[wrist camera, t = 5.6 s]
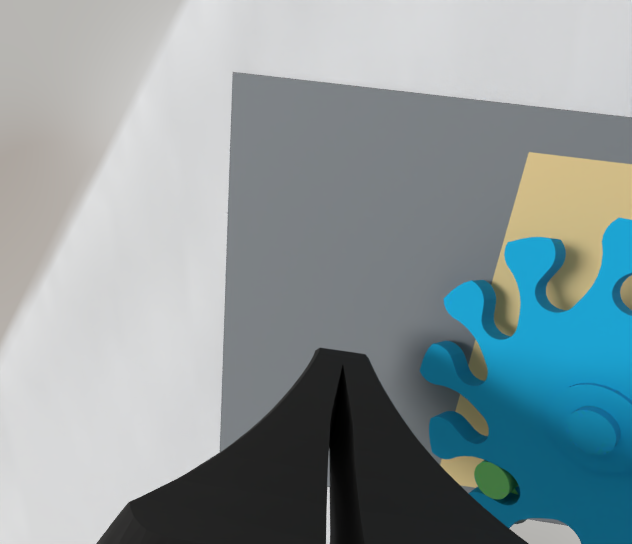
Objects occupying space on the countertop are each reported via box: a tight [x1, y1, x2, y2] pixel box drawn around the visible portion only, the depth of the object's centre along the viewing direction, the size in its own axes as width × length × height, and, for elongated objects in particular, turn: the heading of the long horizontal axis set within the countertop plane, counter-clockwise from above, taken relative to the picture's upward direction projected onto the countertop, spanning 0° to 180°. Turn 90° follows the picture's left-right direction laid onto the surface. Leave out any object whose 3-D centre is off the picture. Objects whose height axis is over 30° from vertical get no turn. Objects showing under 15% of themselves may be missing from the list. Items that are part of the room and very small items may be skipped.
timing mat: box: [220, 72, 632, 526], centre depth 14 cm, size 18×15×1 cm
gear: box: [420, 218, 632, 544], centre depth 12 cm, size 11×6×10 cm
